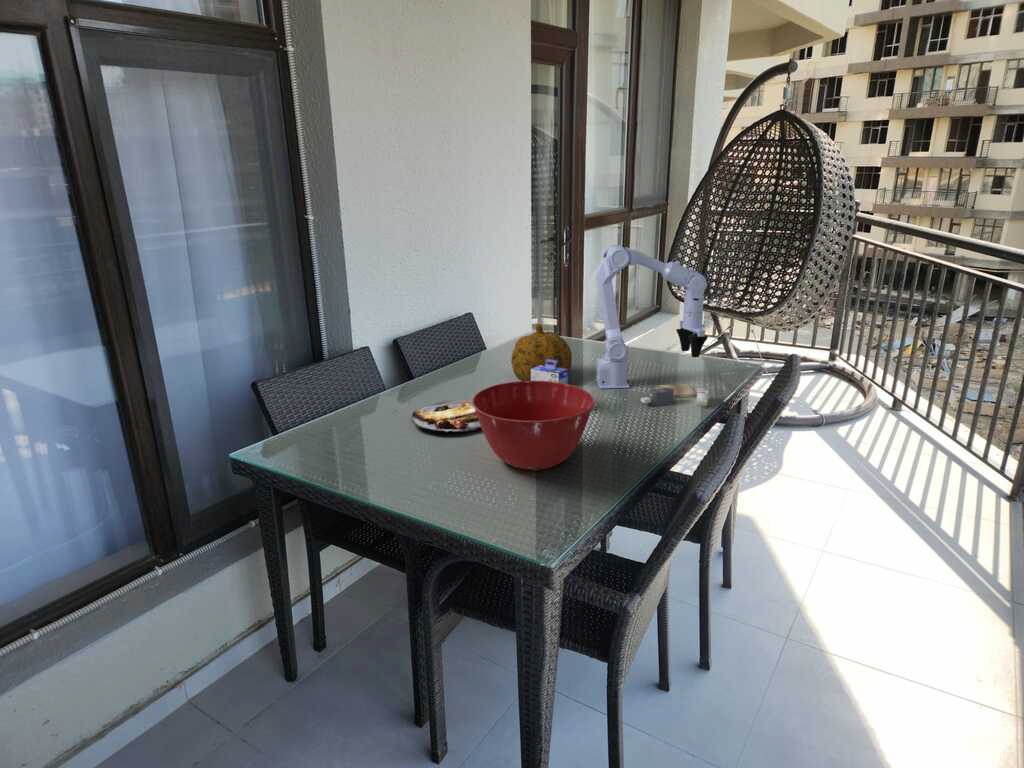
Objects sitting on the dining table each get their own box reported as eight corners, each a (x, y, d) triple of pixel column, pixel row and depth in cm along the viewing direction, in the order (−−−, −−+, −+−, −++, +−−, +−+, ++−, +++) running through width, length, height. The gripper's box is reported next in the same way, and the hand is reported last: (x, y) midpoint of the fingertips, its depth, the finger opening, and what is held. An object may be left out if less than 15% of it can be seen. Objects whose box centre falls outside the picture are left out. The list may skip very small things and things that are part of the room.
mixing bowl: (613, 450, 158) (615, 390, 153) (554, 496, 136) (554, 428, 131) (518, 428, 173) (516, 374, 169) (450, 467, 151) (447, 405, 146)
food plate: (432, 443, 165) (431, 430, 164) (399, 418, 184) (398, 406, 183) (515, 425, 177) (515, 413, 176) (476, 404, 196) (476, 392, 195)
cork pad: (663, 398, 194) (664, 395, 193) (655, 388, 203) (655, 385, 203) (696, 397, 194) (696, 394, 194) (686, 387, 203) (687, 384, 203)
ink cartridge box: (569, 408, 187) (569, 360, 183) (559, 414, 183) (558, 365, 179) (540, 403, 193) (539, 356, 188) (530, 408, 189) (529, 360, 184)
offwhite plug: (696, 398, 193) (696, 387, 192) (706, 399, 192) (707, 387, 191) (697, 408, 185) (698, 396, 183) (708, 409, 184) (709, 397, 183)
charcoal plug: (669, 399, 193) (669, 386, 191) (675, 402, 190) (676, 389, 189) (639, 404, 189) (639, 391, 188) (645, 408, 186) (646, 394, 185)
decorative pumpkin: (587, 375, 215) (582, 317, 208) (546, 396, 201) (540, 335, 195) (542, 367, 229) (536, 313, 222) (501, 386, 215) (493, 329, 208)
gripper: (715, 315, 193) (712, 359, 197) (695, 306, 207) (692, 347, 211) (693, 316, 192) (690, 360, 196) (674, 307, 206) (672, 348, 210)
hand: (690, 353), depth 203 cm, fingers open, 7 cm apart
